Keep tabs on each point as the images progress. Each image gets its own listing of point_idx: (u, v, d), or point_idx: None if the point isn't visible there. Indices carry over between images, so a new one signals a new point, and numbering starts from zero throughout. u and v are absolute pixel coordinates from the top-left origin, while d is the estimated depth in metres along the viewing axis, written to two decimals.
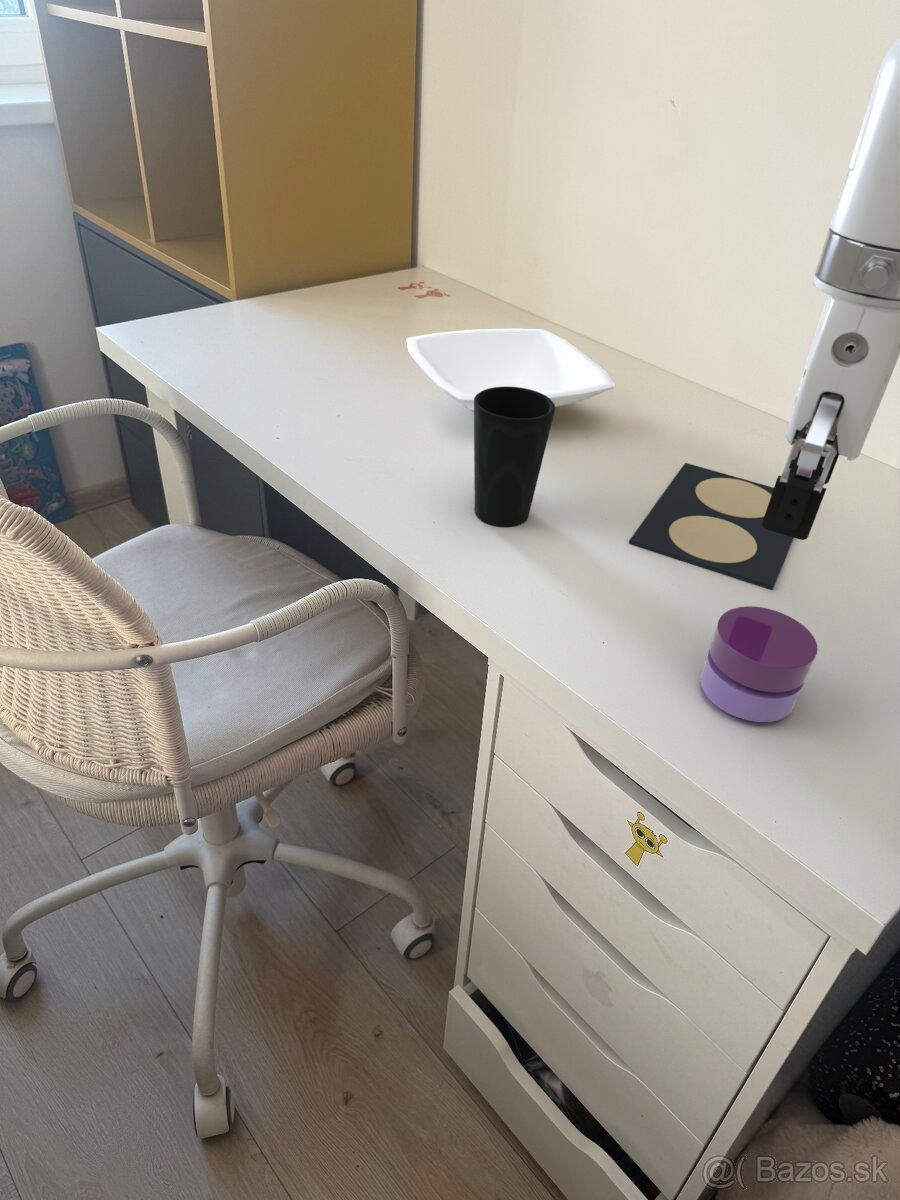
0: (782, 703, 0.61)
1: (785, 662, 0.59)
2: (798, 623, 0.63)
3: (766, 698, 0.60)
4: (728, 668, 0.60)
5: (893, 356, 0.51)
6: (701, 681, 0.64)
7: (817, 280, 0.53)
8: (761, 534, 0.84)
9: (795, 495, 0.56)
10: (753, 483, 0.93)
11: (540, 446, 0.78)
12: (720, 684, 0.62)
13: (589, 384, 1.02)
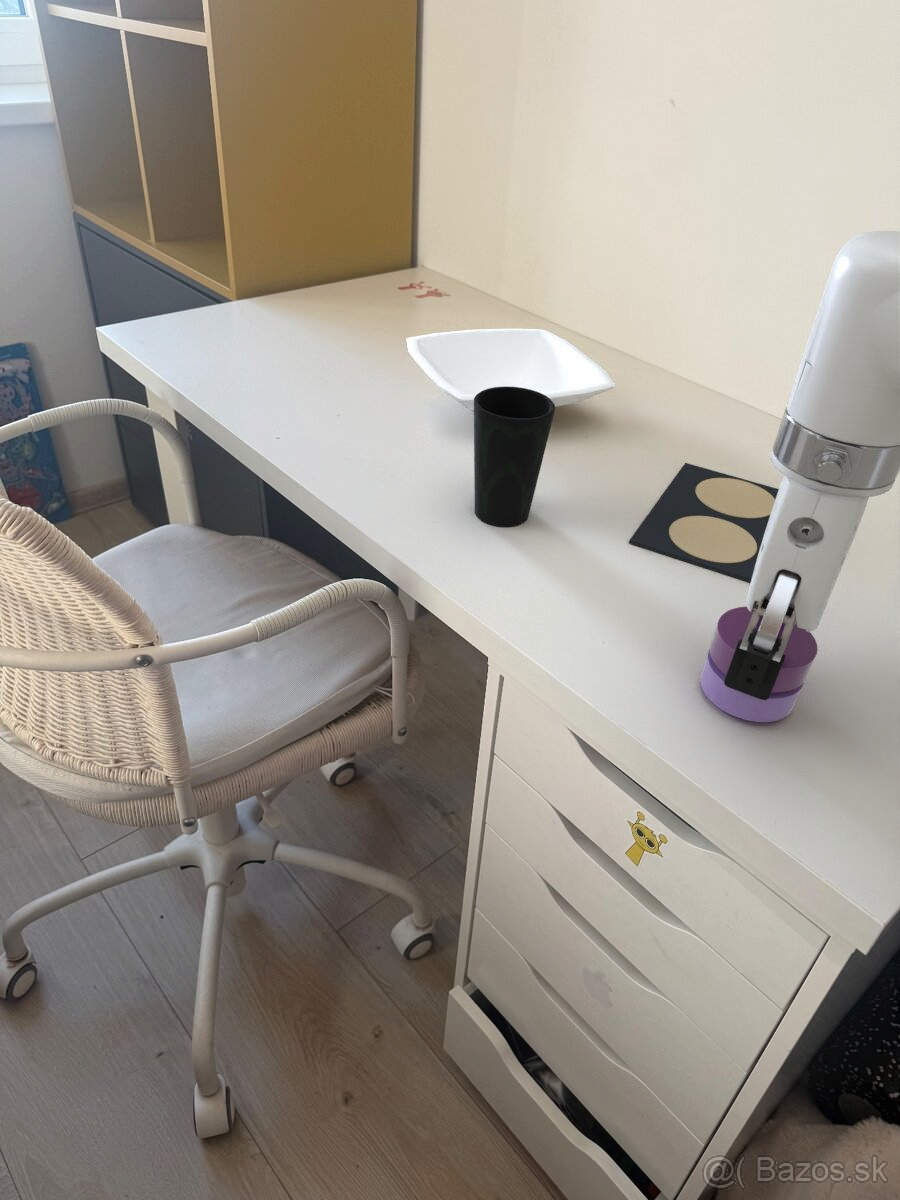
0: (782, 703, 0.61)
1: (785, 662, 0.59)
2: None
3: None
4: (728, 668, 0.60)
5: (849, 541, 0.51)
6: (701, 681, 0.64)
7: (774, 457, 0.53)
8: (761, 534, 0.84)
9: (755, 662, 0.57)
10: (753, 483, 0.93)
11: (540, 446, 0.78)
12: (720, 684, 0.62)
13: (589, 384, 1.02)
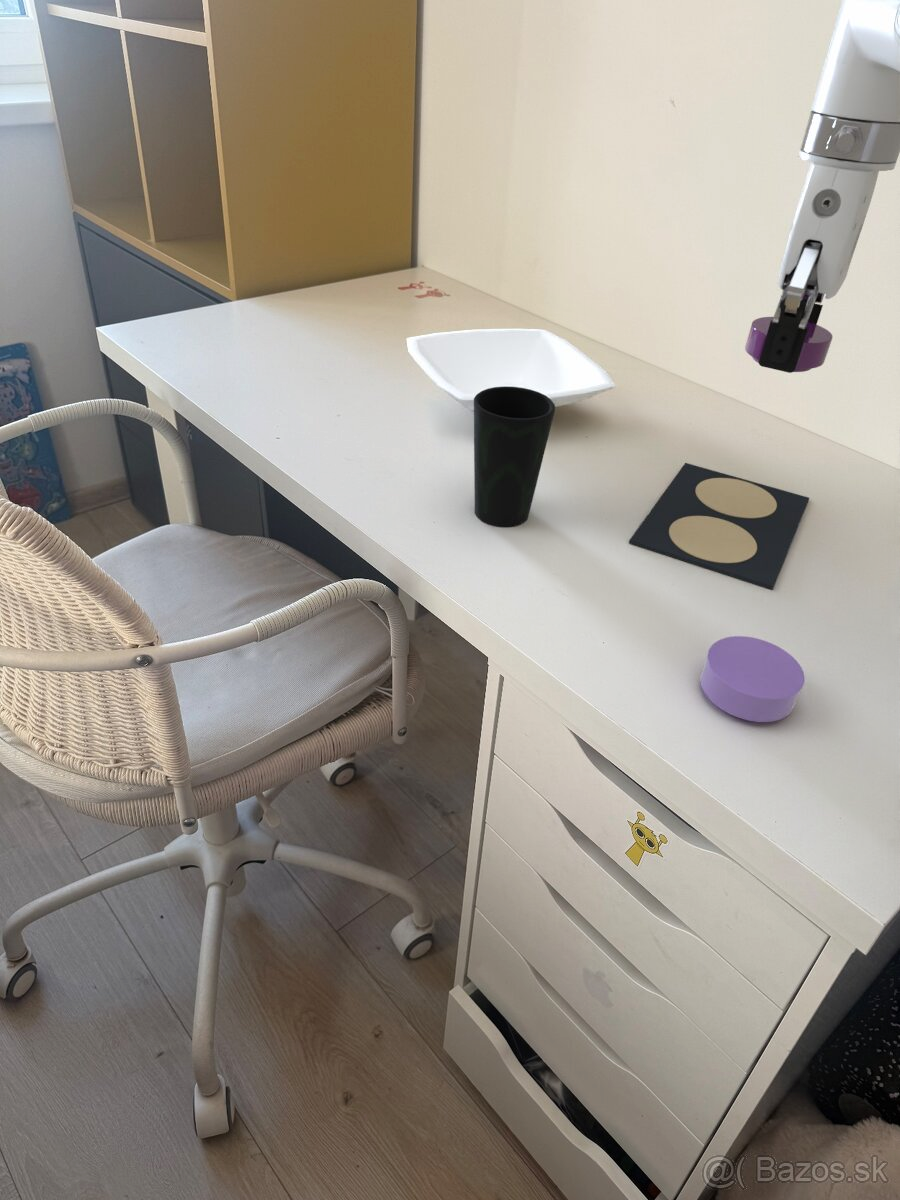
0: (782, 703, 0.61)
1: (807, 340, 0.74)
2: (816, 325, 0.78)
3: (766, 698, 0.60)
4: None
5: (860, 207, 0.66)
6: (701, 681, 0.64)
7: (801, 152, 0.68)
8: (761, 534, 0.84)
9: (784, 333, 0.72)
10: (753, 483, 0.93)
11: (540, 446, 0.78)
12: (720, 684, 0.62)
13: (589, 384, 1.02)
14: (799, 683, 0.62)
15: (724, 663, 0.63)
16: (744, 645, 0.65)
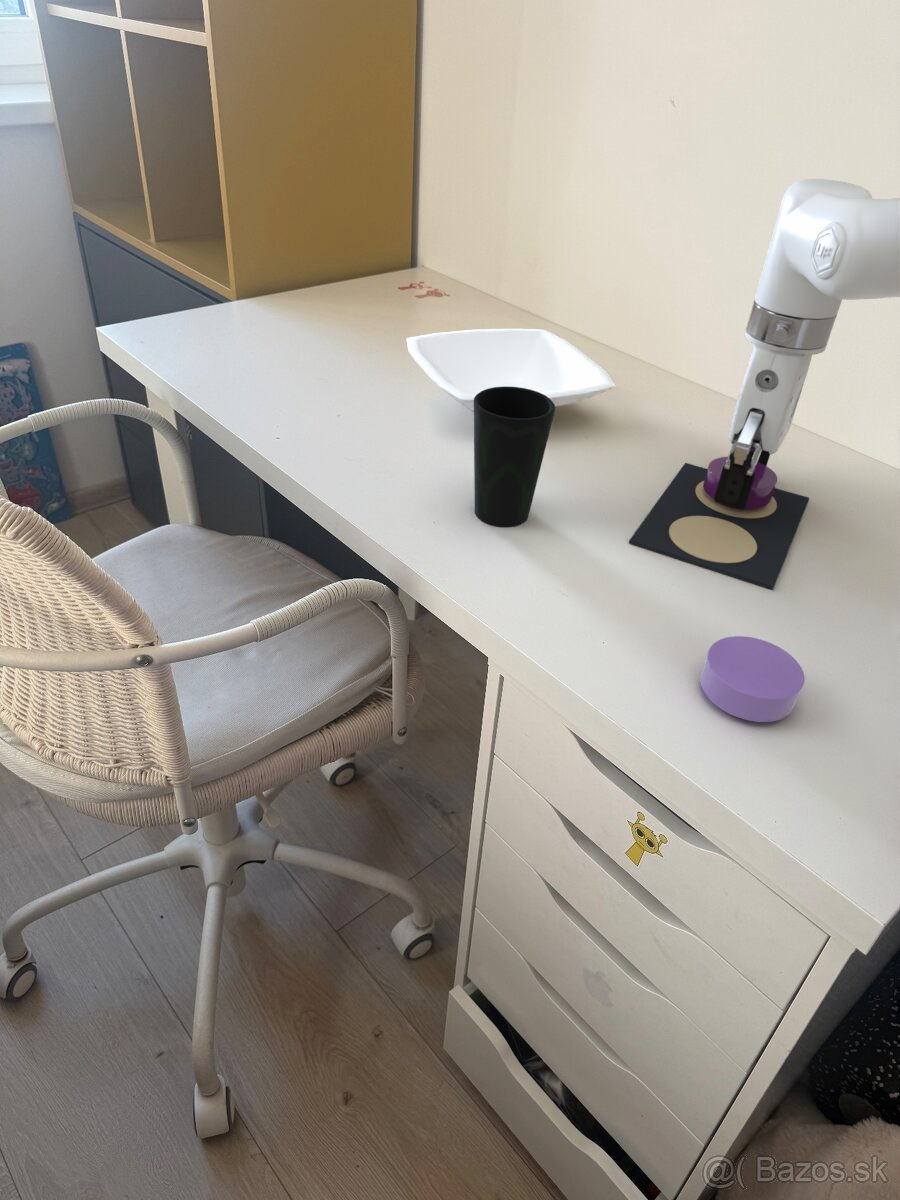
0: (782, 703, 0.61)
1: (755, 485, 0.85)
2: (765, 466, 0.89)
3: (766, 698, 0.60)
4: None
5: (795, 385, 0.77)
6: (701, 681, 0.64)
7: (746, 333, 0.79)
8: (761, 534, 0.84)
9: (735, 478, 0.82)
10: None
11: (540, 446, 0.78)
12: (720, 684, 0.62)
13: (589, 384, 1.02)
14: (799, 683, 0.62)
15: (724, 663, 0.63)
16: (744, 645, 0.65)
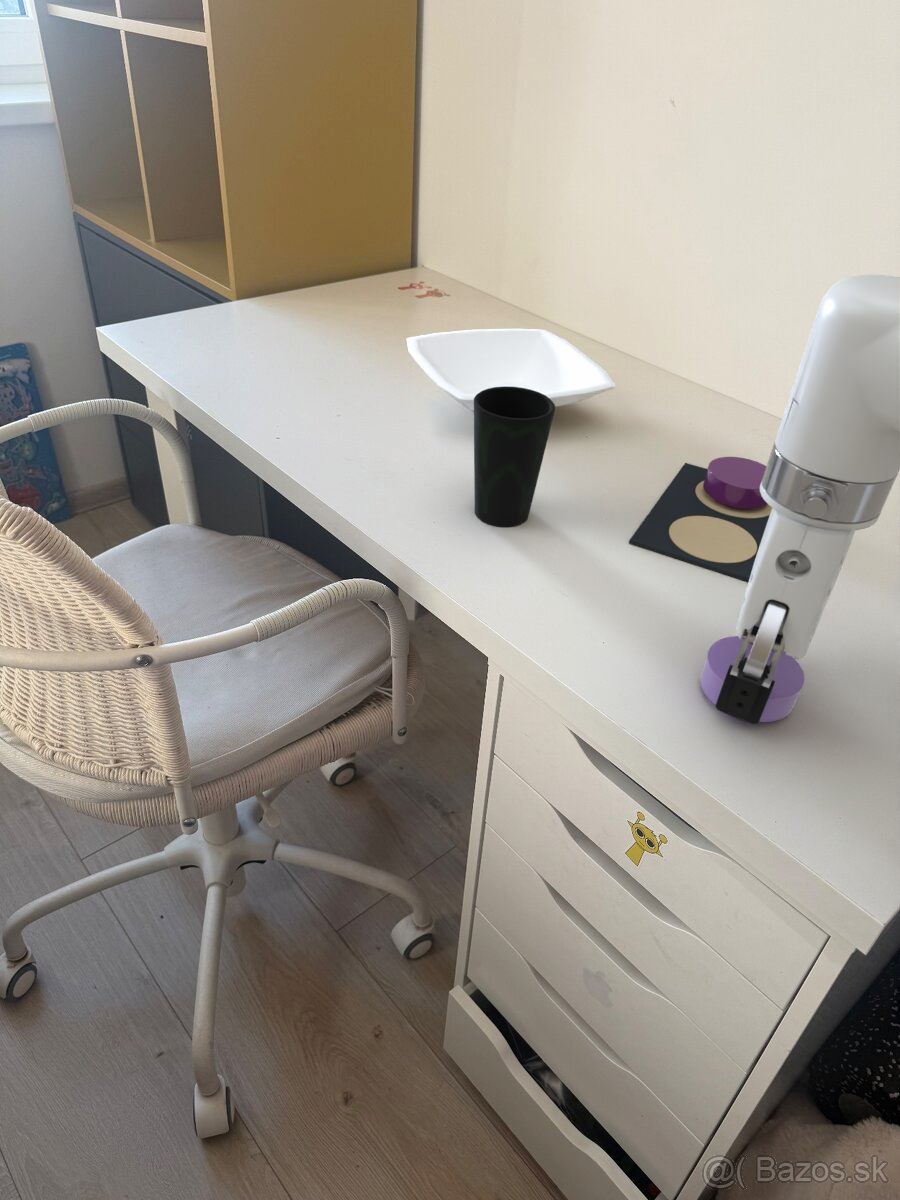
0: (781, 703, 0.61)
1: (755, 485, 0.85)
2: (765, 466, 0.89)
3: None
4: (715, 493, 0.87)
5: (835, 573, 0.52)
6: (701, 681, 0.64)
7: (763, 490, 0.54)
8: (761, 534, 0.84)
9: (745, 687, 0.58)
10: None
11: (540, 446, 0.78)
12: (720, 684, 0.62)
13: (589, 384, 1.02)
14: (799, 683, 0.62)
15: (724, 663, 0.63)
16: None
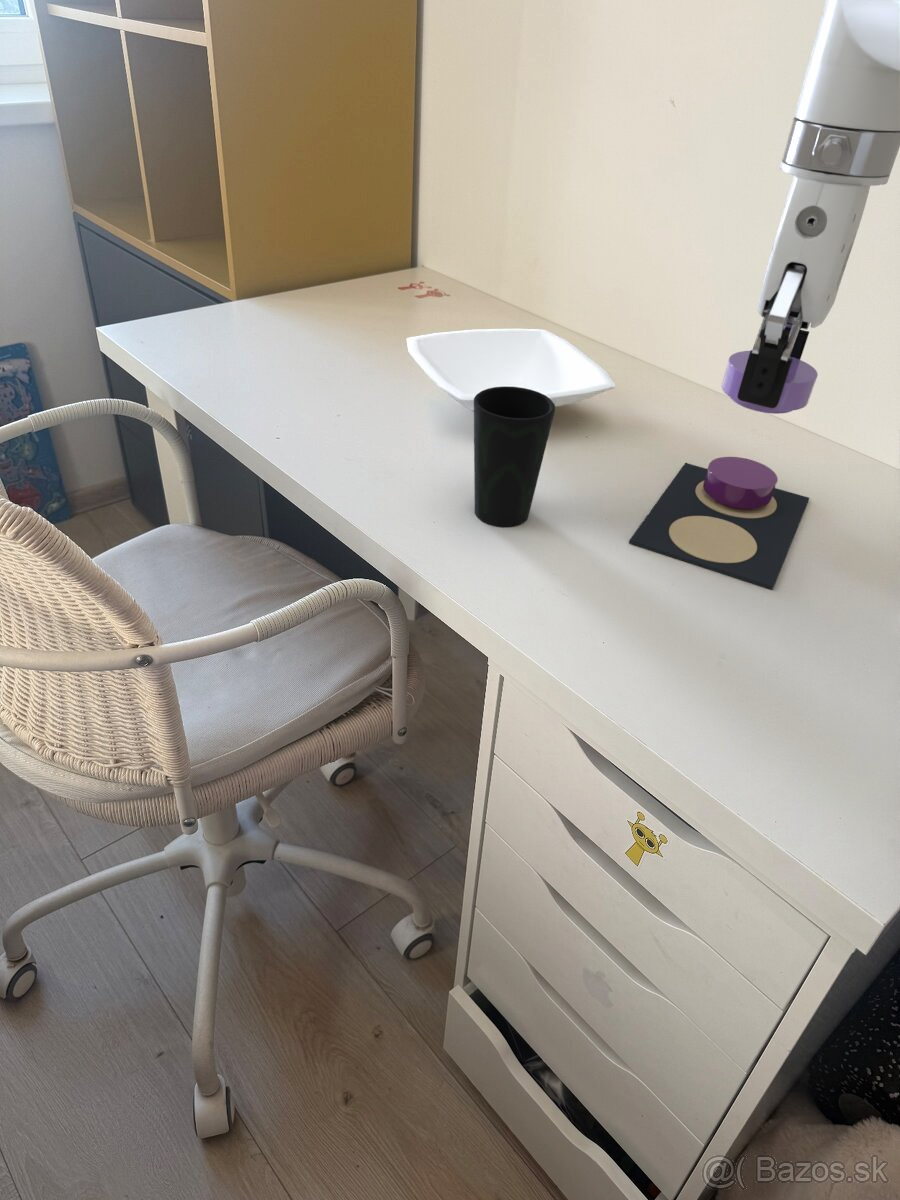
0: (797, 389, 0.67)
1: (755, 485, 0.85)
2: (765, 466, 0.89)
3: None
4: (715, 493, 0.87)
5: (848, 227, 0.58)
6: (723, 386, 0.70)
7: (783, 164, 0.60)
8: (761, 534, 0.84)
9: (765, 365, 0.64)
10: None
11: (540, 446, 0.78)
12: (741, 377, 0.68)
13: (589, 384, 1.02)
14: (812, 376, 0.68)
15: (744, 364, 0.69)
16: None
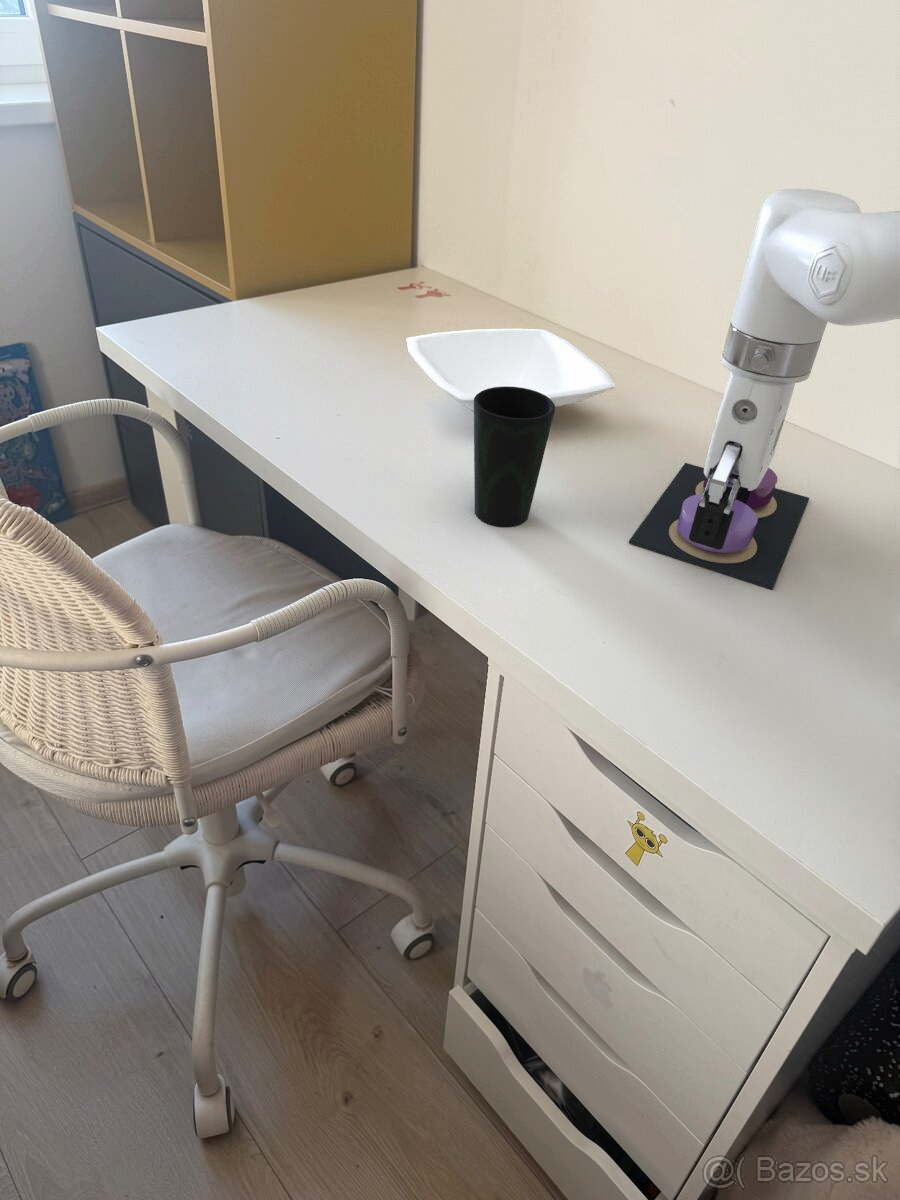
0: (739, 536, 0.78)
1: None
2: None
3: None
4: None
5: (775, 416, 0.69)
6: (678, 526, 0.82)
7: (722, 358, 0.72)
8: (761, 534, 0.84)
9: (711, 516, 0.75)
10: None
11: (540, 446, 0.78)
12: (691, 523, 0.79)
13: (589, 384, 1.02)
14: (753, 522, 0.79)
15: (695, 509, 0.81)
16: None
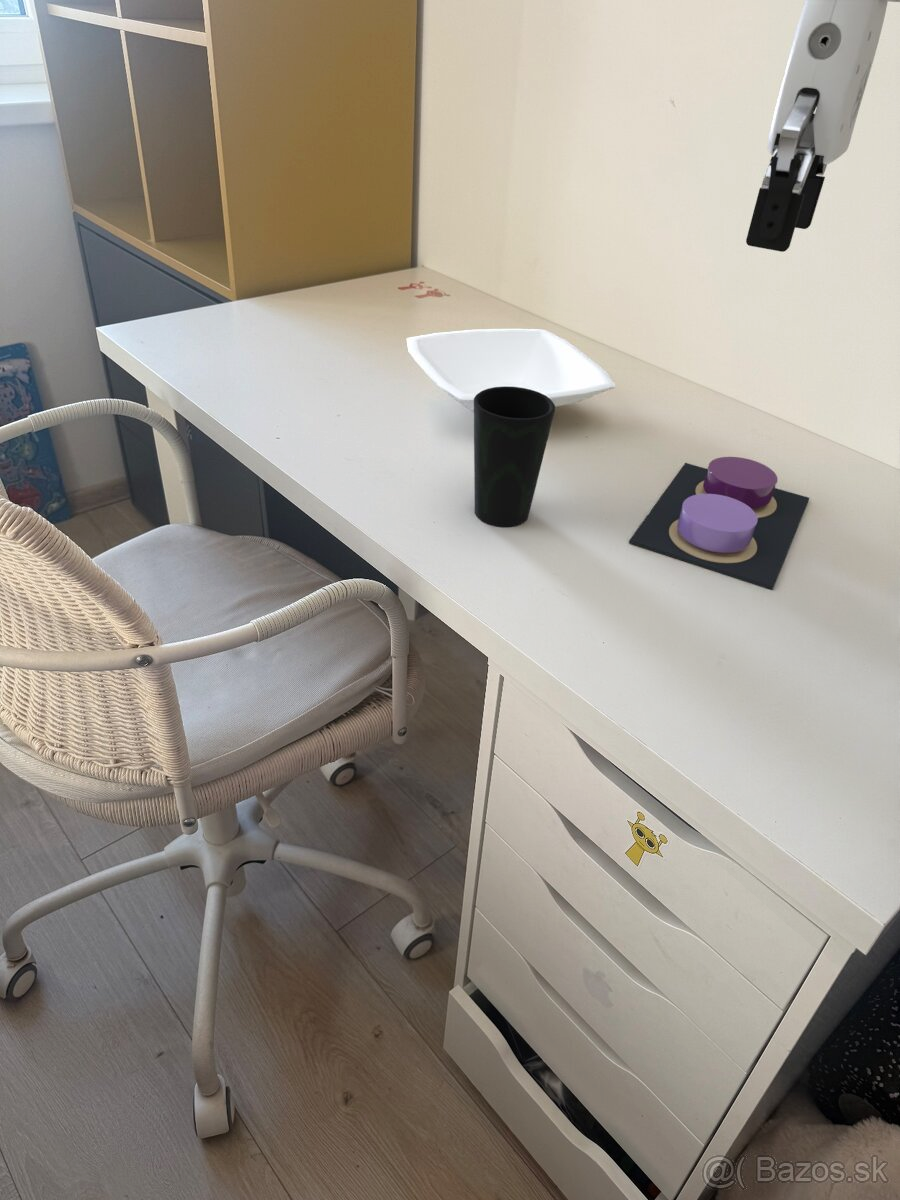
0: (739, 536, 0.78)
1: (755, 485, 0.85)
2: (765, 466, 0.89)
3: (727, 531, 0.78)
4: (715, 493, 0.87)
5: (863, 44, 0.55)
6: (678, 526, 0.82)
7: None
8: (761, 534, 0.84)
9: (776, 200, 0.61)
10: None
11: (540, 446, 0.78)
12: (691, 523, 0.79)
13: (589, 384, 1.02)
14: (753, 522, 0.79)
15: (695, 509, 0.81)
16: (711, 499, 0.83)
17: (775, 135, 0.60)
